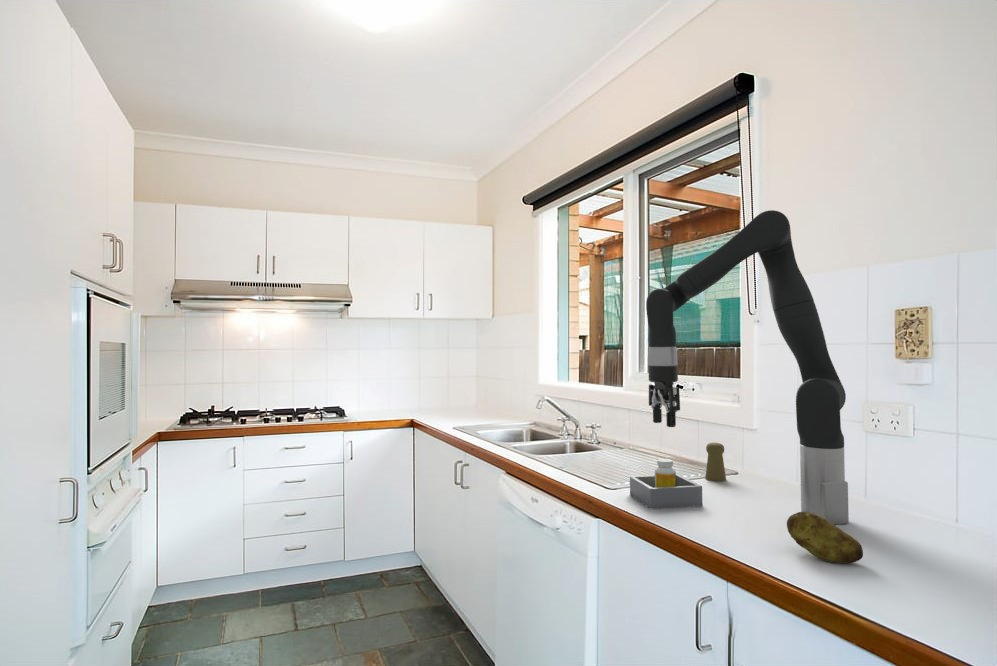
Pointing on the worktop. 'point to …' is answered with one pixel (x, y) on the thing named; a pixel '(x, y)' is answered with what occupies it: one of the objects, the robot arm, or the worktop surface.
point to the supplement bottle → (665, 474)
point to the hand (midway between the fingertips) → (664, 424)
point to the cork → (715, 463)
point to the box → (666, 492)
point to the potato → (823, 538)
